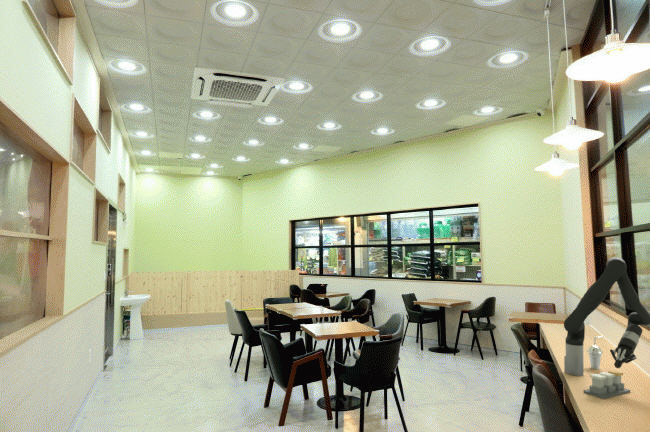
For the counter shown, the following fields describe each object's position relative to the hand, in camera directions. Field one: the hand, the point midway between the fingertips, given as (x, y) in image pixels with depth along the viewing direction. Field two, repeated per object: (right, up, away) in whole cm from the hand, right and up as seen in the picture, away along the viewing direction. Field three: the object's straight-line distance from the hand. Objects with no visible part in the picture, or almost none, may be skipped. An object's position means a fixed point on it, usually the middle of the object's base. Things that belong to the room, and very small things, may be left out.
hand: (616, 367), depth 230 cm
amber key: (-1, -8, -1) cm, 8 cm away
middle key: (-8, -8, -5) cm, 12 cm away
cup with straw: (+14, -15, +41) cm, 46 cm away
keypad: (-8, -11, -5) cm, 15 cm away
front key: (-15, -7, -8) cm, 19 cm away
